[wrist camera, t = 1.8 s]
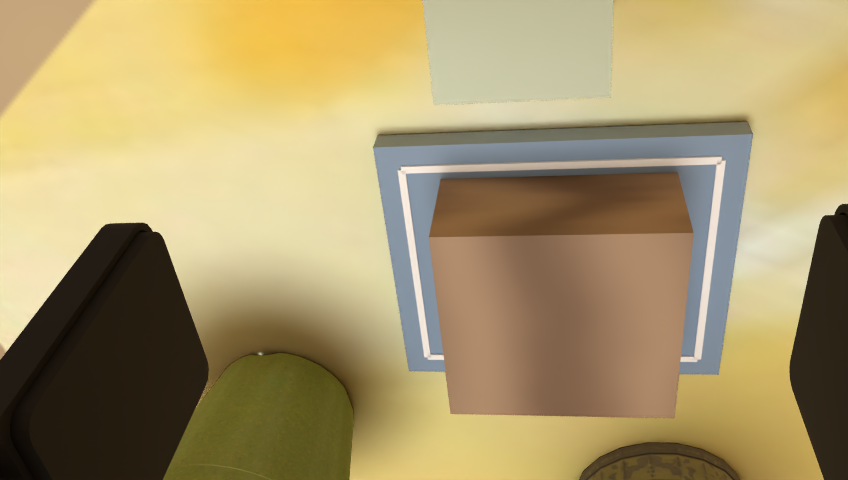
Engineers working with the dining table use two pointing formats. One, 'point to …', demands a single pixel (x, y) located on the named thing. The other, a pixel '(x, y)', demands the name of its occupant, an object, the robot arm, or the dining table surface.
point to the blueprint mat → (557, 156)
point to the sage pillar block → (518, 50)
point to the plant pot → (268, 424)
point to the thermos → (659, 464)
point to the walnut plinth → (562, 293)
